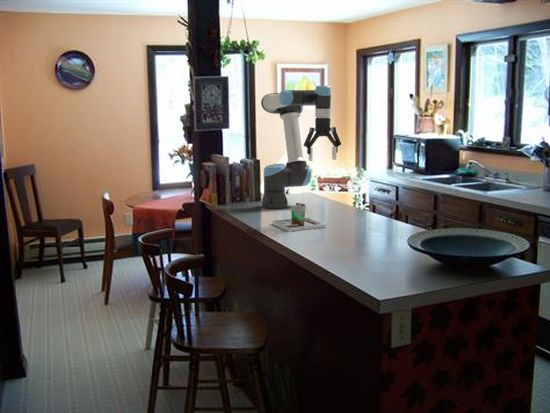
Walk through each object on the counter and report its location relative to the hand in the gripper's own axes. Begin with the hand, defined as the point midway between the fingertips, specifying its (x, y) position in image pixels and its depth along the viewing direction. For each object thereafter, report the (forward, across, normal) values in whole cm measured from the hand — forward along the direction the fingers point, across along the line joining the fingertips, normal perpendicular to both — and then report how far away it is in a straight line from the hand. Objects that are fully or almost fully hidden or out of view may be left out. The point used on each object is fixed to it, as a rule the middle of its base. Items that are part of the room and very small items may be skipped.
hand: (322, 160), depth 302 cm
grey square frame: (+29, -21, -15) cm, 39 cm away
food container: (+29, -20, -16) cm, 39 cm away
